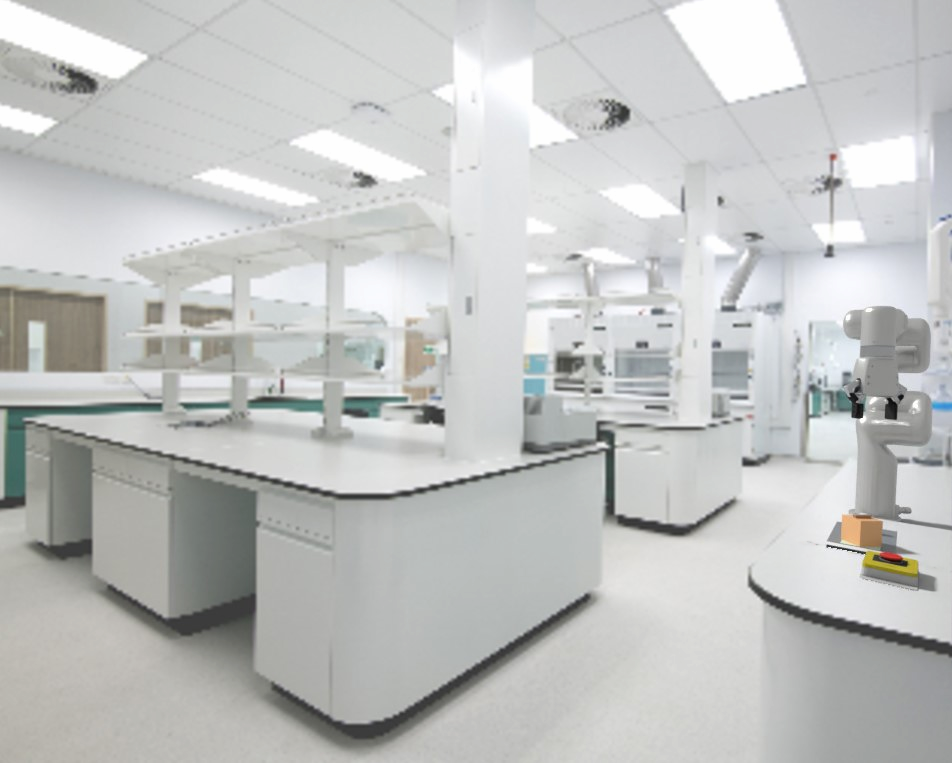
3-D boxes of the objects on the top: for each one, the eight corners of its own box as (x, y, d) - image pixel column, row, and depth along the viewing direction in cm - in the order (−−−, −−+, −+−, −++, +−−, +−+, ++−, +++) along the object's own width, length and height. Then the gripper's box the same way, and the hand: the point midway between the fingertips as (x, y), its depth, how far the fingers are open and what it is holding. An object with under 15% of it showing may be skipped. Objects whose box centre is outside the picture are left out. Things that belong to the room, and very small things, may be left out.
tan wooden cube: (862, 539, 133) (863, 511, 133) (881, 546, 127) (883, 518, 127) (840, 539, 132) (842, 511, 132) (859, 546, 127) (861, 518, 127)
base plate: (836, 526, 150) (837, 505, 149) (896, 537, 141) (897, 514, 141) (826, 547, 131) (827, 522, 131) (894, 560, 123) (896, 534, 123)
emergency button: (920, 553, 116) (918, 571, 105) (919, 573, 116) (917, 594, 105) (866, 543, 122) (859, 559, 111) (865, 562, 122) (858, 580, 111)
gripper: (894, 355, 148) (891, 418, 148) (836, 352, 146) (832, 416, 146) (920, 354, 140) (916, 421, 141) (858, 352, 138) (855, 419, 139)
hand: (873, 418), depth 144 cm, fingers open, 9 cm apart
